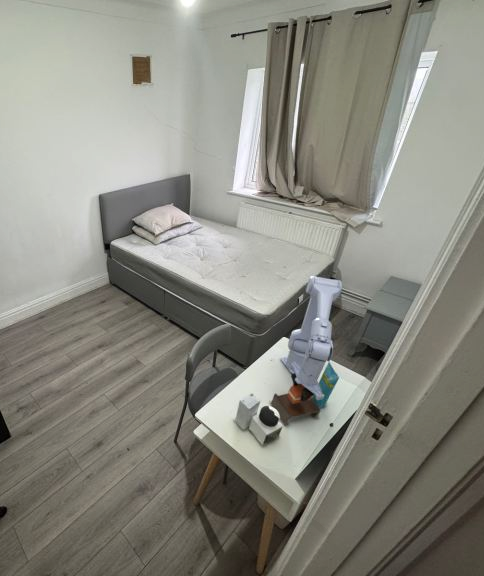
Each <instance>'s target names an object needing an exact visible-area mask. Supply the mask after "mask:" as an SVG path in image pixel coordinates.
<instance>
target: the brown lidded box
mask: <svg viewBox="0 0 484 576" xmlns="http://www.w3.org/2000/svg"><path fill="white" fill-rule="evenodd" d="M287 394H288V392H287V393H283V394H277V393H274V394H273V397H272V400H271V402H270V405H271V407H273V408H275V409H276V410H277V411H278V413H279V415H280V420H281V421H282V423H283V426H287V425H288V424H289V421H290V420H291V419H293V418H297V417H302V416H306V415H310V414H311V416H312V417H313V419H316V418H318V417H319V414H320V412H321V408H319V407H318V406H317V405H316V404H315V402H314V401H313V400H312V399H311V400H308V401H304V402H299V403H295V404H293V403H292V402H291V400H290V399H289V397H288V396H287Z"/></svg>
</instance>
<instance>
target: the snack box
mask: <svg viewBox="0 0 484 576" xmlns="http://www.w3.org/2000/svg"><path fill="white" fill-rule="evenodd" d="M303 388H306V387H305V386H303V385H302V384H301V385H296V386H293V385H292V386H290V387H289V389H288V391H287V393H288V394H287V393H286V394H287V396H288V397H289V399H290V400H291V402H292V403H293V404H295V403H299V402H302V401H301V396H302V389H303ZM312 397H313V396H311V397H310V398H309V399H308V400H311V398H312ZM308 400H307V401H308ZM303 402H304V401H303Z"/></svg>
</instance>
